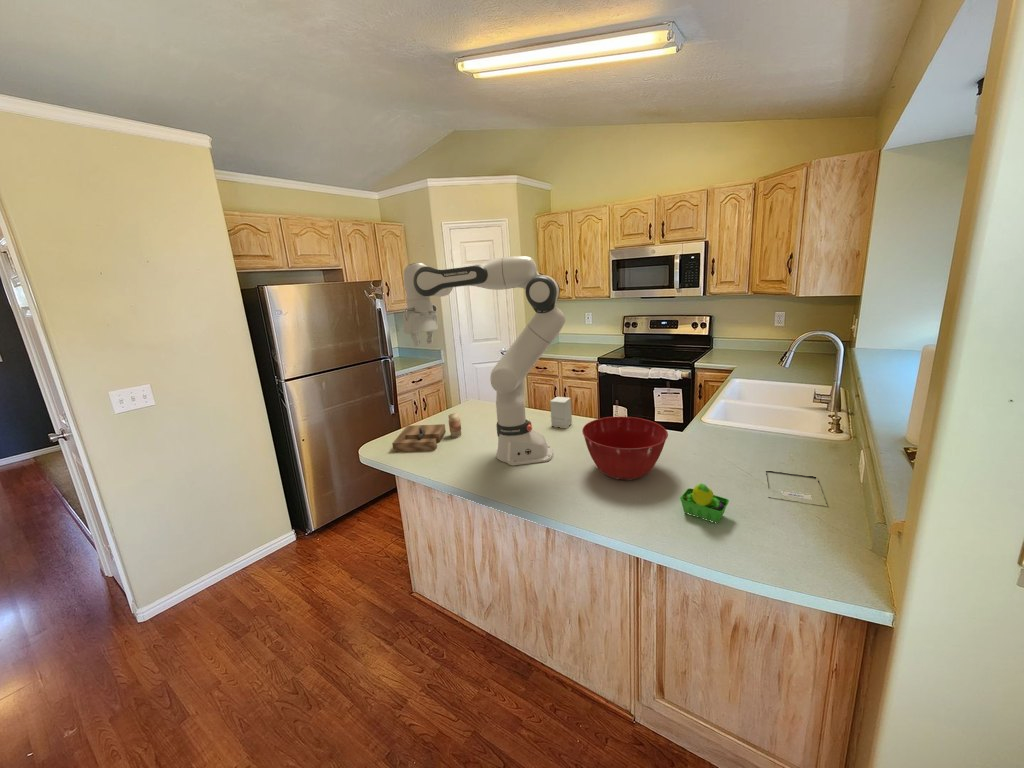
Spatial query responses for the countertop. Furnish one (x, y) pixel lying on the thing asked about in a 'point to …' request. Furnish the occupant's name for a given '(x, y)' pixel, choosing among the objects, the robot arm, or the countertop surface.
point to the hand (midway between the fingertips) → (423, 344)
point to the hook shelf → (419, 444)
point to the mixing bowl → (624, 445)
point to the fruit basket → (703, 503)
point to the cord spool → (454, 425)
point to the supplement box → (561, 412)
